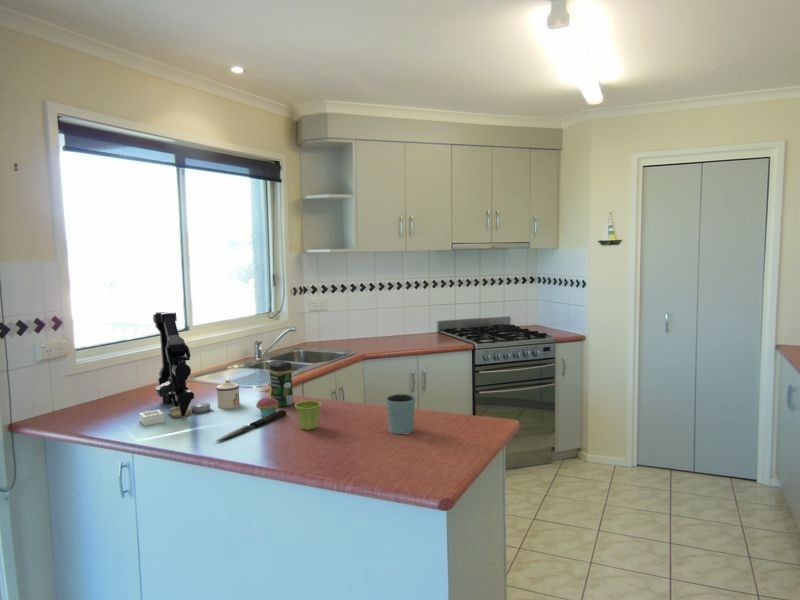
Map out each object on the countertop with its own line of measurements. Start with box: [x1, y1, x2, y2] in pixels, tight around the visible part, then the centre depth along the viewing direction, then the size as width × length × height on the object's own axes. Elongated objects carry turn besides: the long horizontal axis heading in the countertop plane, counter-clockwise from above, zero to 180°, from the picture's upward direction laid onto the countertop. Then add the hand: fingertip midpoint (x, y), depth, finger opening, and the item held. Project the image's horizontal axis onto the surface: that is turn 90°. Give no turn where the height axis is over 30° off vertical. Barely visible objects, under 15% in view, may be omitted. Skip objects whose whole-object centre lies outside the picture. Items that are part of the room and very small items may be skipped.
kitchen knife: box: [215, 409, 287, 442], centre depth 203 cm, size 36×2×5 cm
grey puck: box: [190, 402, 211, 413], centre depth 224 cm, size 7×7×2 cm
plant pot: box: [294, 400, 322, 431], centre depth 201 cm, size 9×9×9 cm
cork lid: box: [169, 405, 191, 418], centre depth 219 cm, size 7×7×3 cm
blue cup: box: [385, 393, 416, 435], centre depth 195 cm, size 10×10×12 cm
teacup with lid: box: [216, 378, 241, 410], centre depth 231 cm, size 12×9×12 cm
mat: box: [166, 407, 215, 421], centre depth 221 cm, size 10×16×1 cm, turn 127°
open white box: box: [138, 408, 165, 427], centre depth 211 cm, size 7×7×4 cm
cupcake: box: [256, 387, 279, 418], centre depth 217 cm, size 9×8×12 cm
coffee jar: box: [268, 359, 294, 408], centre depth 232 cm, size 10×8×19 cm
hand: (180, 413), depth 219 cm, fingers closed on cork lid, 7 cm apart
